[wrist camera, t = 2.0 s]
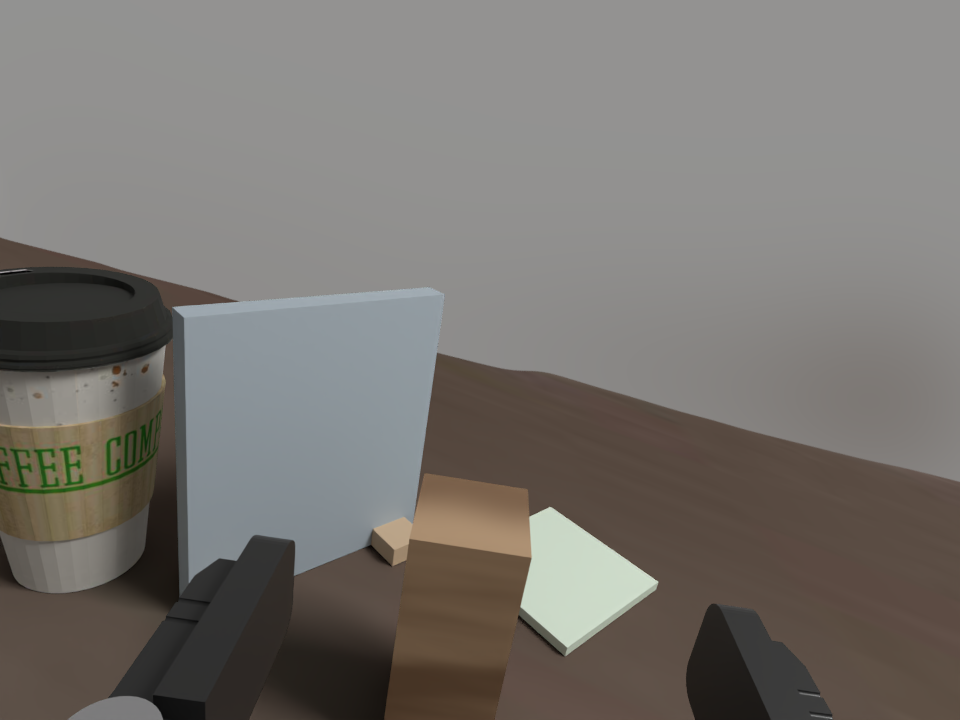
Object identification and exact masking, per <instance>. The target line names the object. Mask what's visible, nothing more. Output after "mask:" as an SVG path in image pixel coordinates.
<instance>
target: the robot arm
mask: <svg viewBox="0 0 960 720" xmlns="http://www.w3.org/2000/svg"><path fill="white" fill-rule="evenodd" d="M294 567H295V542H294V540H289V539H282V538H275V537H268V536H262V535H254V536H253V537H252V538H251V539H250V540H249V542H248V544H247V545H246V547H245V548H244V550H243V552H242V553H241V555H240V556H239V558H238V560H237V561H235V560H228V559H221V558H219V559H217V560H216V561H214V562H213V563H212V564H210V565H209V566H207V567H206V568H205V569H203V570H202V571H200V572H199V573H197V574H196V575H195V576H194V577H193V579H192V580H191V581H190V583H189V584H188V586H187V587H186V589H185V590H184V591H183V593H182V594H181V596H180V597H179V601H178V602H176V603H175V604H174V606H173V607H172V608H171V610H170V611H169V613H168V614H167V616H166V619H165V621H162V623H161V624H160V626H159V627H158V628H157V630H156V631H155V633H154V634H153V636H152V637H151V638H150V640H149V641H148V643H147V644H146V646H145V647H144V648H143V650H142V651H141V653H140V654H139V656H138V657H137V658H136V660H135V661H134V663H133V664H132V666H131V667H130V668H129V670H128V671H127V673H126V674H125V676H124V677H123V678H122V680H121V681H120V683H119V684H118V686H117V687H116V688H115V690H114V691H113V692H112V694H111V695H110V696H109V697H108V699H105V700H101V701H98V702H96V703H94V704H91V705H89V706H87V707H85V708H84V709H82V710H80V711H79V712H77V713H76V714H74V715H73V716H72V717H70V718H69V719H68V720H249V718H250V716H251V713H252V711H253V709H254V706H255V704H256V702H257V700H258V697H259V695H260V693H261V690H262V688H263V686H264V684H265V681H266V679H267V677H268V674H269V672H270V670H271V668H272V665H273V663H274V661H275V658H276V656H277V654H278V651H279V649H280V647H281V645H282V642H283V640H284V638H285V635H286V632H287V629H288V625H289V621H290V617H291V612H292V604H293V587H294ZM686 686H687V694H688V698H689V702H690V705H691V708H692V711H693V714H694V717H695V720H833V719H832V713H831V711H830V709H829V708H828V706H827V704H826V702H825V701H824V699H823V698H821V697H820V692H819V690H818V688H817V686H816V685H815V683H814V681H813V679H812V677H811V676H810V674H809V672H808V670H807V669H806V667H805V666H804V665H803V664H802V663H801V661H800V660H799V659H798V658H797V657H796V656H795V655H794V654H793V653H792V652H791V651H790V650H789V649H788V648H787V647H786V646H785V645H784V644H783V643H782V642H776V641H772V640H771V638H770V637H769V635H768V633H767V631H766V629H765V627H764V625H763V623H762V621H761V619H760V617H759V616H758V614H757V613H756V612H755V611H754V610H752V609H747V608H741V607H734V606H727V605H720V604H711V605H710V606H709V607H708V609H707V611H706V613H705V616H704V619H703V622H702V625H701V628H700V630H699V633H698V636H697V639H696V642H695V645H694V648H693V650H692V653H691V656H690V659H689V662H688V666H687V673H686Z"/></svg>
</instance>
